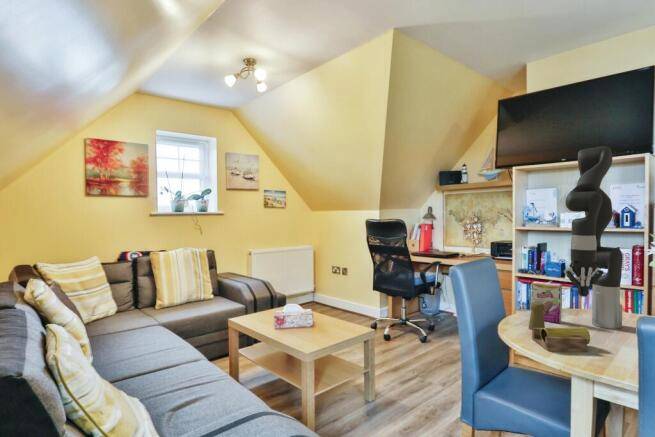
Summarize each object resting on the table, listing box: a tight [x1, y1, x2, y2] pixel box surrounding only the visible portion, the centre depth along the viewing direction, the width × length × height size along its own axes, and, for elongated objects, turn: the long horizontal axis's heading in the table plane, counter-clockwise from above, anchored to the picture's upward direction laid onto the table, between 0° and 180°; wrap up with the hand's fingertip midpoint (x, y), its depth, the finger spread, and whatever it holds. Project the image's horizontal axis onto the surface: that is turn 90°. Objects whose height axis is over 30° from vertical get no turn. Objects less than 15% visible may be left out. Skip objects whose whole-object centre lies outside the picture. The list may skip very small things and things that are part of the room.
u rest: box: [531, 328, 588, 353], centre depth 131 cm, size 13×11×4 cm
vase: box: [540, 326, 591, 345], centre depth 130 cm, size 6×6×14 cm
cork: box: [528, 302, 546, 331], centre depth 148 cm, size 6×6×11 cm
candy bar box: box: [530, 281, 563, 324], centre depth 161 cm, size 11×5×16 cm, turn 49°
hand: (583, 296), depth 130 cm, fingers closed
